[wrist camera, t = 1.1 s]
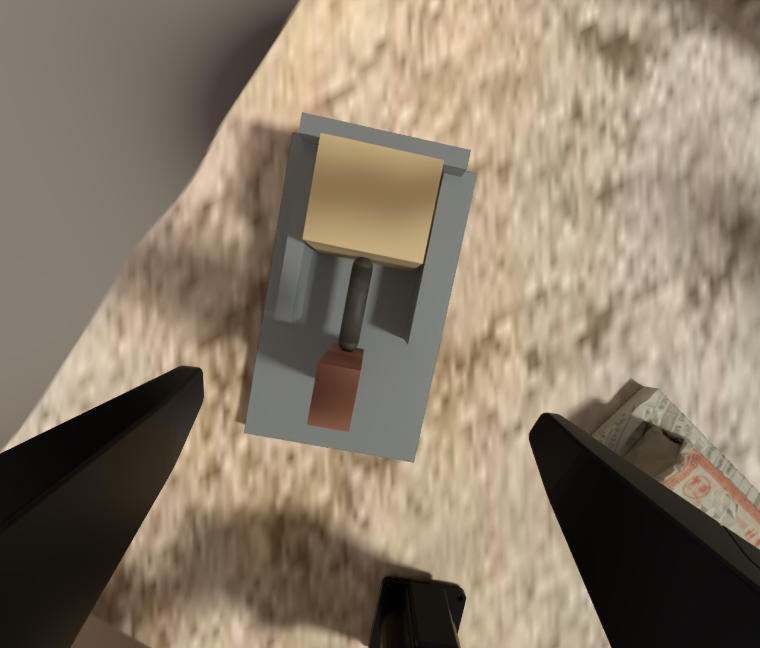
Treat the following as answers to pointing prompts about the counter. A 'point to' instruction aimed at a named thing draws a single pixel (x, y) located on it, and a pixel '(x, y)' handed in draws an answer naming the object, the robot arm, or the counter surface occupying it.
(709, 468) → the packaged product
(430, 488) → the counter surface
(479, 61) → the counter surface
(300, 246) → the shelf lane
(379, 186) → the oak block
